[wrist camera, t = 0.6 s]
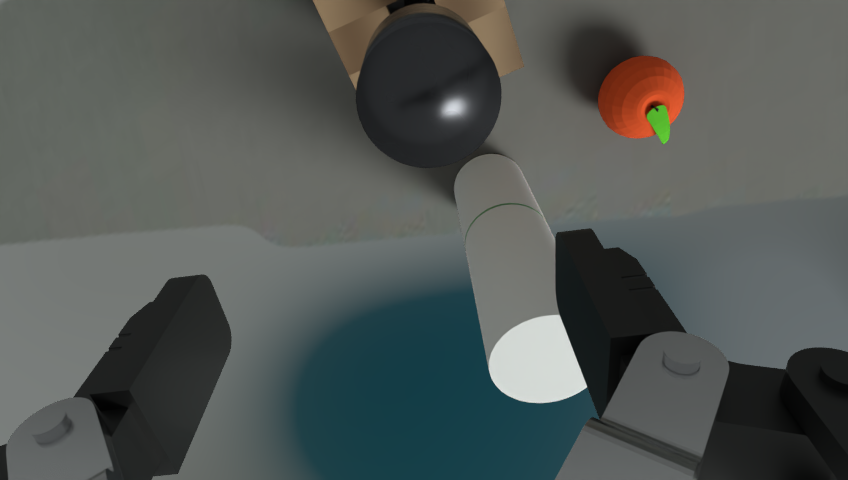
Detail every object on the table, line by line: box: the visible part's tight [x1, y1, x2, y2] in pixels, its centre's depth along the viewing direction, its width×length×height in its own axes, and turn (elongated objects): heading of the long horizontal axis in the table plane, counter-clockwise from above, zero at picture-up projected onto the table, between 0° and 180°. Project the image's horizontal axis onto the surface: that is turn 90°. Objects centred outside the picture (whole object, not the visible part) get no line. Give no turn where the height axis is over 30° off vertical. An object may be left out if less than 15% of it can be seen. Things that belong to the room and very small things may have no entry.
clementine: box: [598, 56, 684, 144], centre depth 46 cm, size 8×7×7 cm
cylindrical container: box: [454, 154, 587, 403], centre depth 43 cm, size 7×7×25 cm
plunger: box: [356, 0, 501, 168], centre depth 25 cm, size 7×7×24 cm
